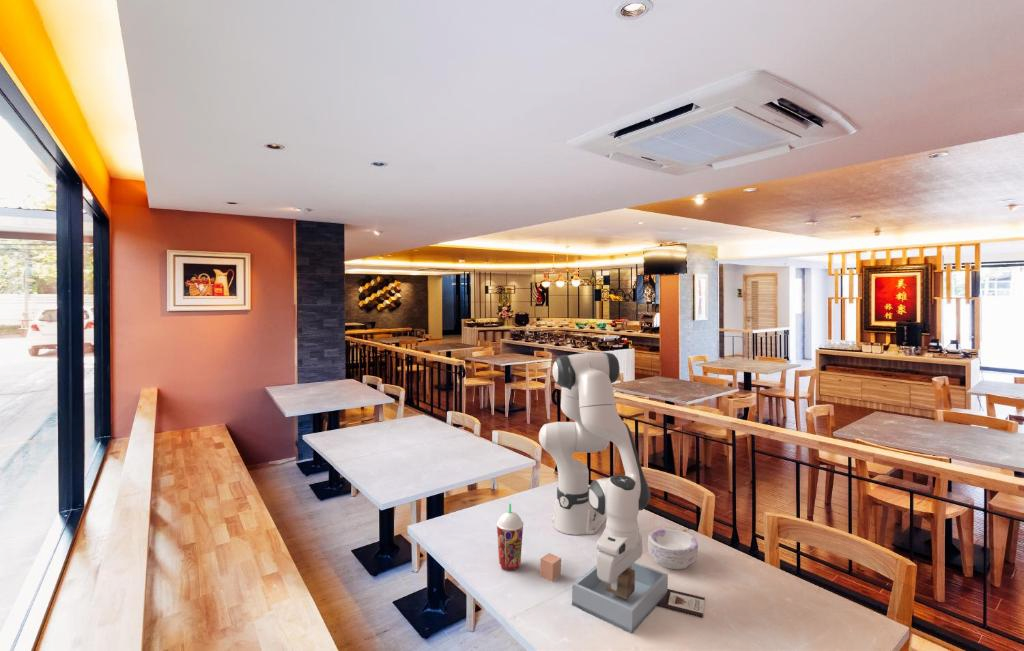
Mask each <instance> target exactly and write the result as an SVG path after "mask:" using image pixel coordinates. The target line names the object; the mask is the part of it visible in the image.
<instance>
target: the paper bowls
mask: <svg viewBox="0 0 1024 651" xmlns="http://www.w3.org/2000/svg"><path fill="white" fill-rule="evenodd" d="M647 540H648V541H647V542H648V543H647V549H648V550H647V551H648V553H649V555H650V556H651V557H653V558H654V559H655V561H656V562H657V563H658V564H659V565H660V566H662V567H664V568H667V569H669V570H684V569H686V568H688V567H689V566H690V564H692V563H695V562H696V561H697V560H698V554H699V542H698V540H697V539H696V538H695V536H694V535H692V534H690V533H689V532H686V531H682V530H679V529H674V528H658V529H656V530H653V531H651V532H650V533H649V534H648V539H647Z"/></svg>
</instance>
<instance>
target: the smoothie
mask: <svg viewBox="0 0 1024 651" xmlns="http://www.w3.org/2000/svg"><path fill="white" fill-rule="evenodd" d="M523 530H524V522H523V521H522V518H521V517H520V515H519V514H518V513H516V512H514V511H512V503H508V511H506V512H504V513H503V514H501V515H500V517H499V519H498V520H497V521H496V534H497V552H498V563H499V565H500V567H501V569H503V570H504V571H505V570H506V571H514V570H517V569H518V568H519V566H520V564H521V560H522V558H521V557H522V544H523V534H524V533H523V532H524V531H523Z"/></svg>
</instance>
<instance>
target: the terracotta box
mask: <svg viewBox="0 0 1024 651" xmlns="http://www.w3.org/2000/svg"><path fill="white" fill-rule="evenodd" d="M539 564H540V565H539V566H540V567H539V568H540V569H539V572H540V574H539V575H540V577H541V578H544V579H546V580H548V581H550V582H554V581H556V580H557V579H558V578H560V577H561V576H562V557H560V556H558V555H555V554H553V553H551V552H548V553H547V554H546V555H544V556H542V557H541V558H540V563H539Z"/></svg>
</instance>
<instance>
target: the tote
mask: <svg viewBox="0 0 1024 651" xmlns="http://www.w3.org/2000/svg"><path fill="white" fill-rule="evenodd" d="M632 569H633V570H635V591H634V592H633V593H632V594H631V595H630V596H629V597H628V598H627V599H624V598H622V597H620V596H618V595H615V594H613V593H611V592H608V591H607V583H606V582H603V581H601V580H600V579H599V578H598V576H597V564H596V565H595V566H593V567H592V568H591V569H590V570H588V571H587V572H586V573H584V574H583V575H582V576H580V577H579V578H578V579H577V580H575V582H573V583H572V584H571V586H572V587H571V605H572V606H573V607H575V608H577V609H579V610H581V611H583V612H585V613H588V614H590V615H592V616H594V617H596V618H598V619H600V620H603V621H604V622H607V623H609V624H610V625H613V626H615V627H617V628H619V629H622V630H623V631H625V632H627V633H629V634H633V633H634V632H635V631H636V630H637V628H639V626H641V624H642V623H643V622H644V621H645V620H646V619H647V618H648V617H649V615H650V614H651V613H653V611H654V610H655V609H656V608H658V607H657V604H658V603H659V602H660V600H661V599H662V598H663V597H664V596H665V595H666V594H667V589H668V583H669V582H668V580H669V579H668V578H669V577H668V576H669V574H668V573H665V572H663V571H661V570H658V569H655V568H652V567H649V566H647V565H645V564H642V563H639V562H637V561H635V562H634V563H633V566H632Z"/></svg>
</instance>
